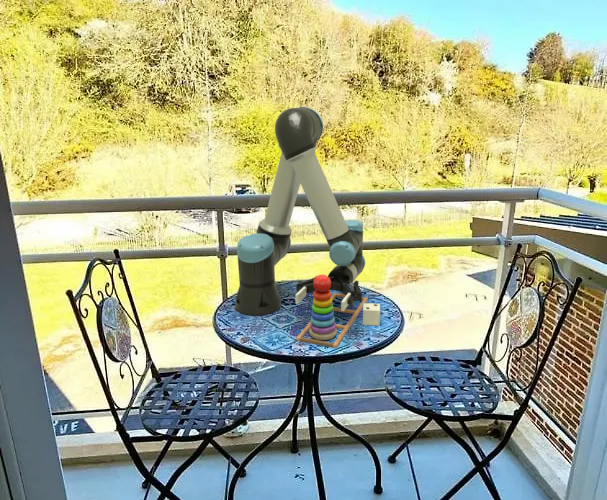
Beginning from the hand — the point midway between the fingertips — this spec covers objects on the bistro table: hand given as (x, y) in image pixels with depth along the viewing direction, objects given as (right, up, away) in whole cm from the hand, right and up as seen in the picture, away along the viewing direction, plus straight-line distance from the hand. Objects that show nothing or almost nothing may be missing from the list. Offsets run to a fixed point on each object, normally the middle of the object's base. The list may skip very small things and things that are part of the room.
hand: (319, 303), depth 127 cm
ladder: (+6, -7, +16) cm, 18 cm away
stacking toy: (+1, -10, +7) cm, 12 cm away
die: (+17, -7, +14) cm, 23 cm away
